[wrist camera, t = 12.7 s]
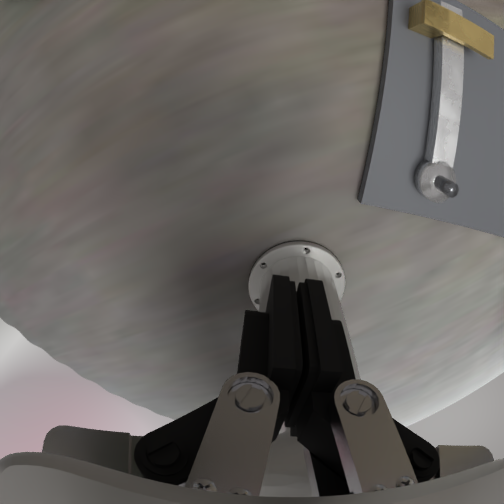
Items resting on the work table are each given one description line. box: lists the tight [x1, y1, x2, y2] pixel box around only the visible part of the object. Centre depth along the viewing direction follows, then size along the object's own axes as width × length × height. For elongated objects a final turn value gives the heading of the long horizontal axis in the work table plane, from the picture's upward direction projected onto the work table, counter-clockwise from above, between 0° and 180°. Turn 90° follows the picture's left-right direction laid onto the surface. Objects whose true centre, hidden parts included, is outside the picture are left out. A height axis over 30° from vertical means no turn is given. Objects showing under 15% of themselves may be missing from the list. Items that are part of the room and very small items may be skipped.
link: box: [414, 1, 464, 203], centre depth 23 cm, size 24×5×5 cm, turn 178°
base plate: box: [358, 0, 504, 237], centre depth 26 cm, size 29×32×2 cm
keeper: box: [408, 0, 494, 60], centre depth 20 cm, size 3×10×4 cm, turn 83°
